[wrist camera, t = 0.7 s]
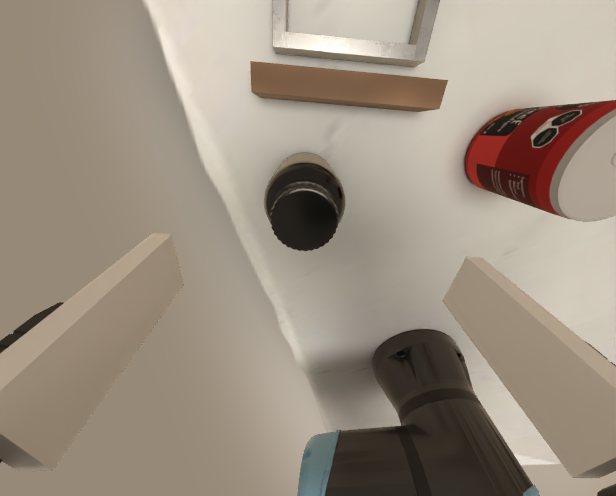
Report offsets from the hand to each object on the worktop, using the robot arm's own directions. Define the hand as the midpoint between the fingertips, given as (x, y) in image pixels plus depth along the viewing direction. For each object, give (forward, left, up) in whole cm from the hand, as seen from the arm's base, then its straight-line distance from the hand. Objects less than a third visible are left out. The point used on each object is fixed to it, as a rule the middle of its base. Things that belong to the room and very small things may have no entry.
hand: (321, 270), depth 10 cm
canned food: (+5, -20, -18) cm, 28 cm away
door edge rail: (+9, -2, -18) cm, 20 cm away
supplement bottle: (0, +1, -18) cm, 18 cm away
